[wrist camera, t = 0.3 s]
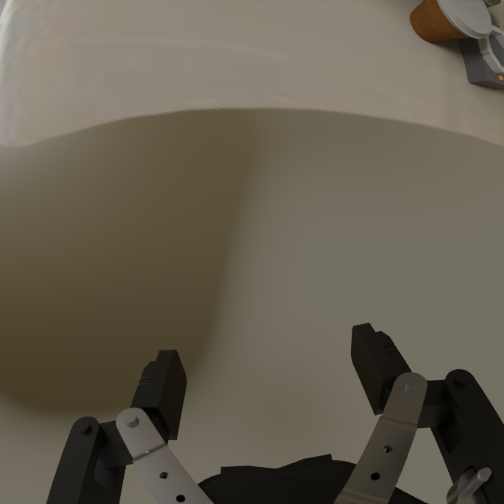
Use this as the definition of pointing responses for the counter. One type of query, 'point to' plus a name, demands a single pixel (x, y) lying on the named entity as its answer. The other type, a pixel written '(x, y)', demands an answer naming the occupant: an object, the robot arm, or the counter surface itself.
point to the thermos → (491, 2)
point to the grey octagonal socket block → (485, 58)
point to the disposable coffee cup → (451, 20)
